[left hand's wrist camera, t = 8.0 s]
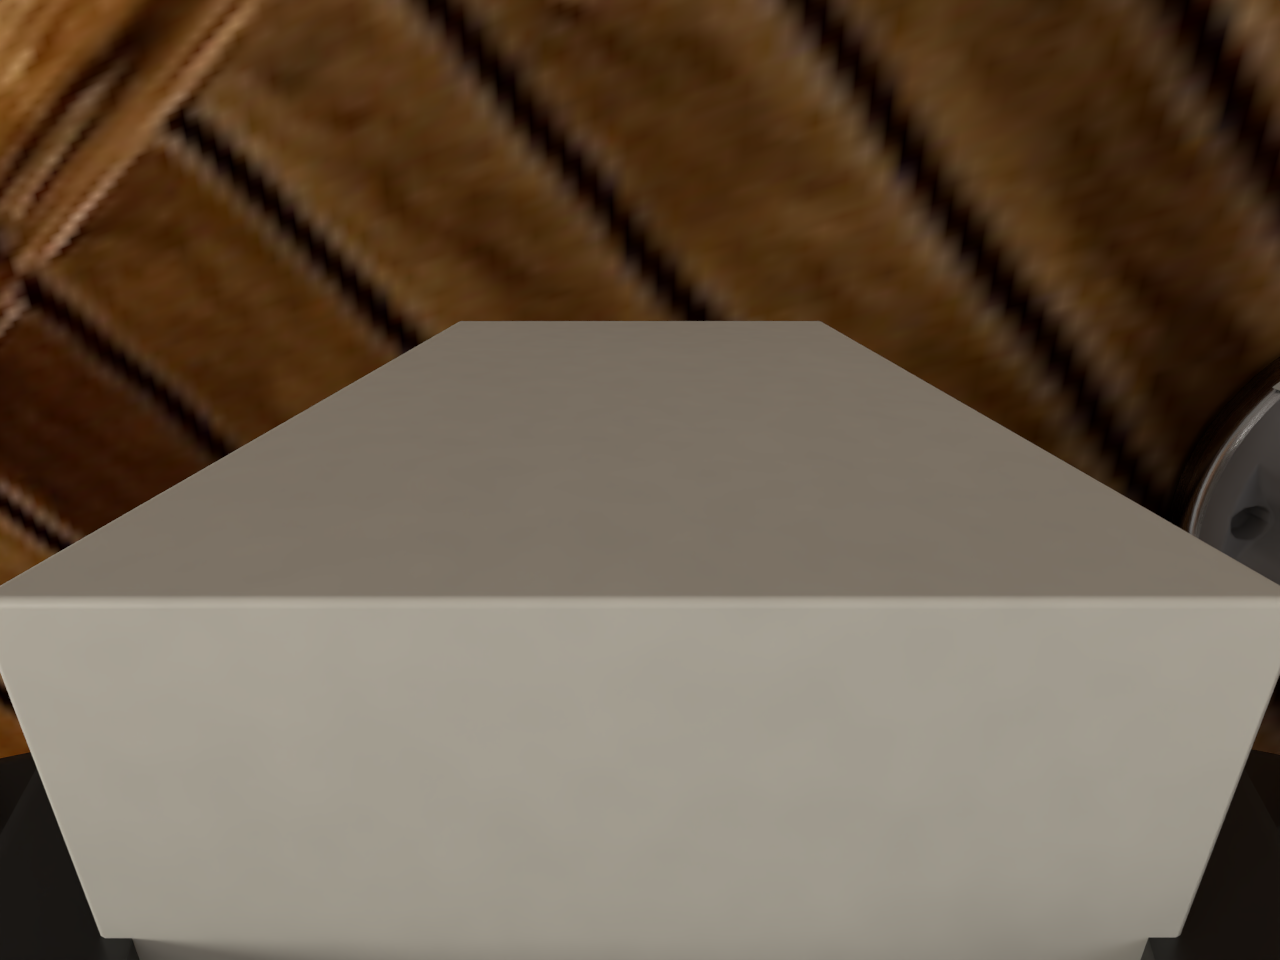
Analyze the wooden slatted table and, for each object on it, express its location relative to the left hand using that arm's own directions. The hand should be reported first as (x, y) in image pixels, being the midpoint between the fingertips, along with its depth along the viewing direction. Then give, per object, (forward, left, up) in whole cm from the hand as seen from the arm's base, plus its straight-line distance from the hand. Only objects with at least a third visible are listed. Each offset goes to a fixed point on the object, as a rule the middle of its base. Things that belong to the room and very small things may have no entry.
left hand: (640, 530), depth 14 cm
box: (-6, +6, -2) cm, 8 cm away
